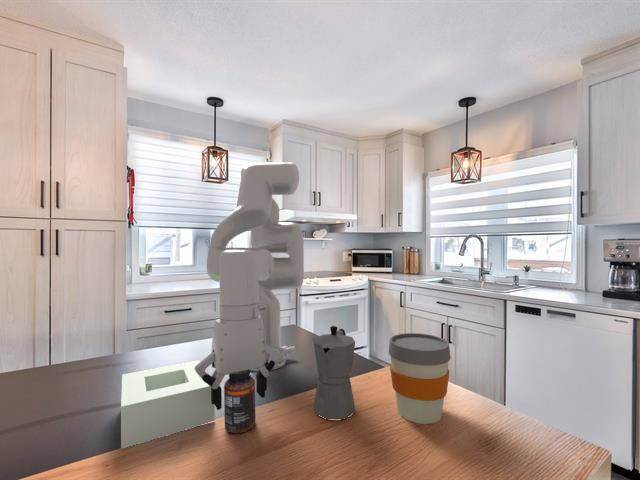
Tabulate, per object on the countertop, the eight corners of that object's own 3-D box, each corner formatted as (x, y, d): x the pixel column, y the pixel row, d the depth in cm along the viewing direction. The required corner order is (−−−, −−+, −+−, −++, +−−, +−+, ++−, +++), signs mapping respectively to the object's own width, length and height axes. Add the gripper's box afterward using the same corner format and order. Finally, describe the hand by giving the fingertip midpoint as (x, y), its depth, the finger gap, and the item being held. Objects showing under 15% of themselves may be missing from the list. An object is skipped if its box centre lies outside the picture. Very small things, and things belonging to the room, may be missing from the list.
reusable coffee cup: (377, 404, 71) (377, 336, 71) (422, 393, 76) (421, 330, 76) (415, 435, 59) (414, 355, 60) (465, 420, 64) (464, 345, 64)
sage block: (199, 390, 78) (199, 360, 78) (214, 422, 64) (214, 384, 64) (122, 408, 70) (122, 374, 70) (121, 449, 56) (121, 406, 56)
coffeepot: (349, 430, 61) (348, 336, 61) (303, 422, 64) (302, 332, 64) (362, 394, 76) (362, 318, 76) (325, 388, 79) (324, 315, 79)
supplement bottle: (249, 414, 67) (249, 360, 67) (260, 428, 62) (259, 370, 62) (220, 423, 64) (220, 367, 64) (229, 439, 59) (229, 377, 59)
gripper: (273, 304, 71) (273, 383, 71) (189, 313, 62) (189, 404, 62) (287, 310, 64) (288, 397, 64) (196, 321, 55) (197, 423, 55)
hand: (239, 400), depth 63 cm, fingers open, 8 cm apart
